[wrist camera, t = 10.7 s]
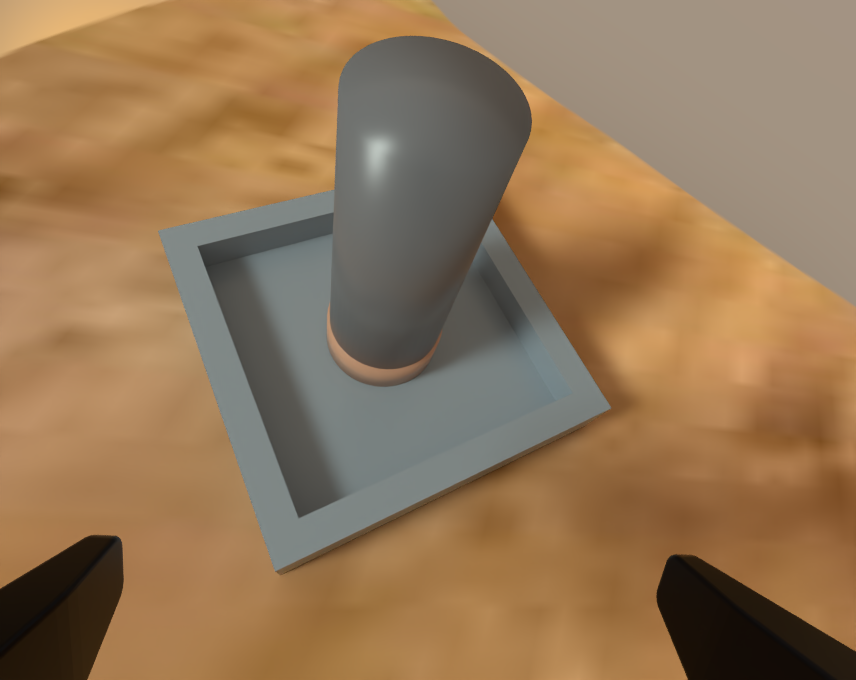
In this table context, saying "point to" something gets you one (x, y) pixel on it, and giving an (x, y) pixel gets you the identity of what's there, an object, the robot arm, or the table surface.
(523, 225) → the table surface
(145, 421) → the table surface
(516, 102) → the grey rounded peg
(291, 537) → the tray
